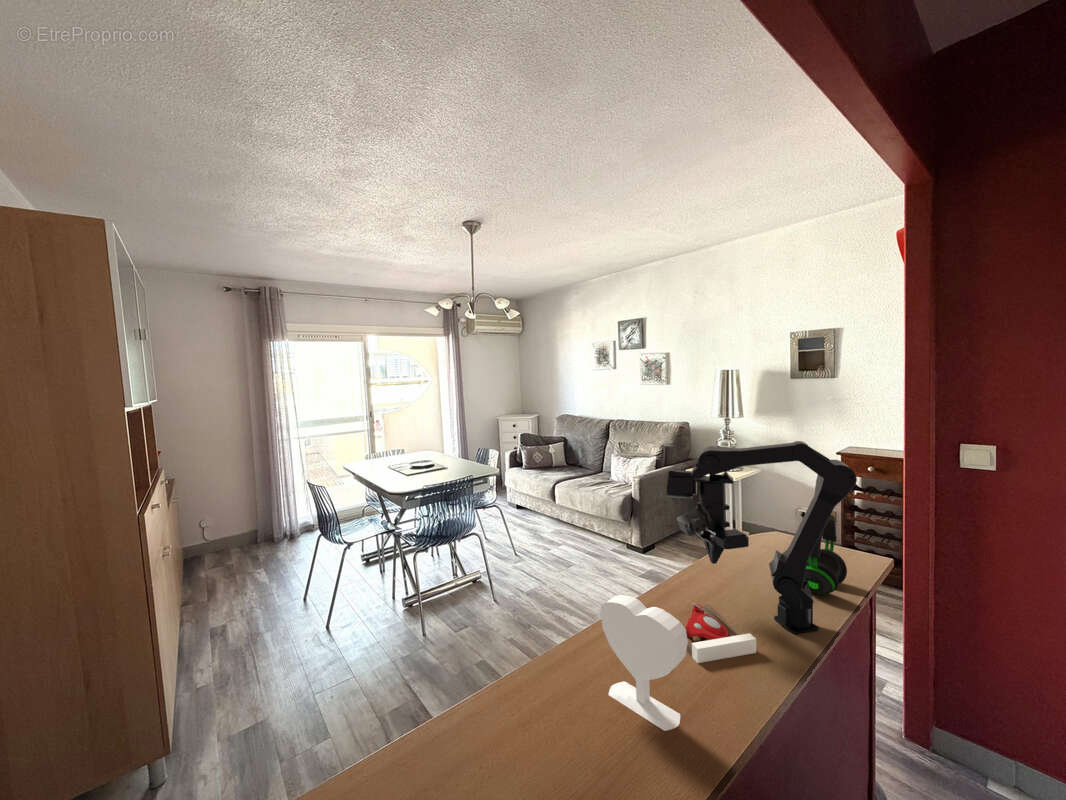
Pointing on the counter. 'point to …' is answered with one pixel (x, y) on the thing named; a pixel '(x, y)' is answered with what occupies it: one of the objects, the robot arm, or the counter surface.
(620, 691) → the heart sculpture
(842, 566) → the headphones
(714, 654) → the guide channel
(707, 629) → the tracker holder
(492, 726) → the counter surface
